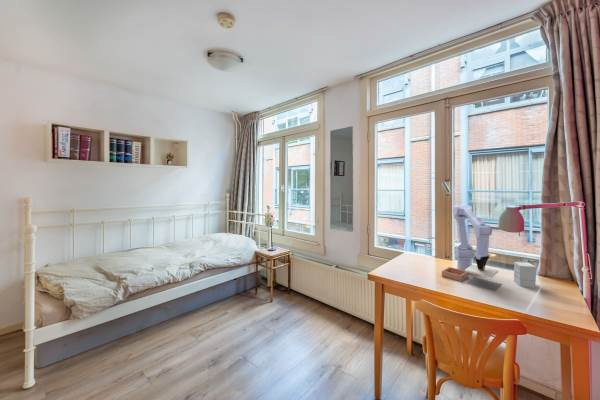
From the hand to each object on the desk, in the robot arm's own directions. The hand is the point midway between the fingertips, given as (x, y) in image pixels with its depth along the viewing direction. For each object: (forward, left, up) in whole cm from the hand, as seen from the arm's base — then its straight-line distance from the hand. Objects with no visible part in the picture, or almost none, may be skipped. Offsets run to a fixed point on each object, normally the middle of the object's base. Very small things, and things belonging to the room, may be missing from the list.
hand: (481, 268), depth 145 cm
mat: (0, +2, -9) cm, 9 cm away
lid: (0, 0, -2) cm, 2 cm away
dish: (+1, -13, -9) cm, 16 cm away
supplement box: (-16, +17, -10) cm, 25 cm away
